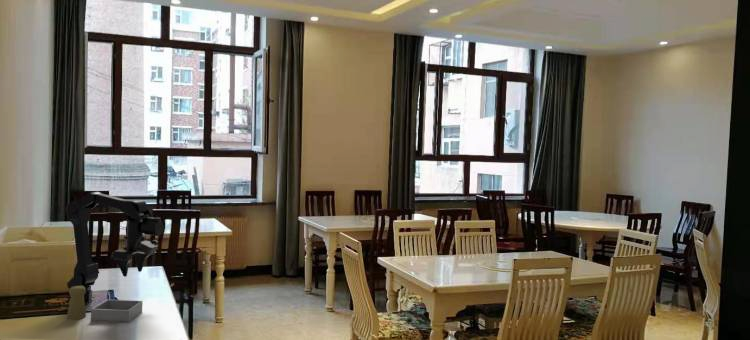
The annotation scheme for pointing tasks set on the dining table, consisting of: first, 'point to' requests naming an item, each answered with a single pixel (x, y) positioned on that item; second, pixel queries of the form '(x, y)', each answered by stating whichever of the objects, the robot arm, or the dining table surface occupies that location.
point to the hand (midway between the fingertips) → (132, 273)
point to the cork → (76, 303)
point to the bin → (116, 311)
